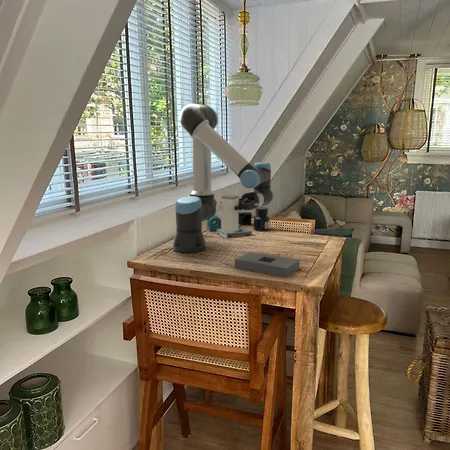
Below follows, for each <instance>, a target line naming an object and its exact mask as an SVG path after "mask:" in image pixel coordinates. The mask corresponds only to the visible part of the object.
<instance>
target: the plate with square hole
mask: <svg viewBox="0 0 450 450" xmlns="http://www.w3.org/2000/svg"><path fill="white" fill-rule="evenodd" d="M300 262H301V261H300V259H296V258H288V257H283V256H277V255H271V254H267V253H266V254H264V253H259V252H252V251H248V252H246V253H244V254H242V255H240V256H238V257H236V258H235V259H234V268H235V269H238V270H244V271H250V272H255V273H261V274H265V275H270V276H276V277H281V278H286V279H287V278H289V277H290V276H291V275H293V274H294V273H296V272H298V271H299V270H300V265H301V263H300Z"/></svg>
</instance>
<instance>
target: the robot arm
mask: <svg viewBox="0 0 450 450" xmlns="http://www.w3.org/2000/svg"><path fill="white" fill-rule="evenodd" d="M179 121H180V125H181V126H182V127H183V129H184V131H186V132H187V133H188V135H189V137H190V138H192V190H191V191H190V192H189V195H188V196H184V197H181V198H178V199H177V200H176V202H175V208H174V209H175V227H176V229H175V231H176V233H175V236H174V240H173V243H172V249H173V250H174V251H175V252H178V253H187V254H189V253H198V252H202V251H205V250H206V249H207V247H206V246H207V243H206V239H205V238H204V234H203V229H202V228H203V227H202V226H203V225H202V224H203V222H205V221H207V220H208V219H210V218H212V217H213V216H214V215H216V214H217V212H218V213H219V212H221V201H219V203H218V201H217V199H216V198H215V192H214V191H213V190H212V154H214V156H215V157H216V158H218V160H220V162H222V163H223V164H224V165H225V166H226V167H227V168H228V169H229V170H230V171H231V172H232V173H234V174H235V176H237V177H238V178H239V180H240V183H241V185H242V186H243V187H244V188H246V189H253V190H252V191H248V192H245V193H243V194H242V195H241V196H240V197H239V204H234V205H230V206H228V213H232V212H235V211H238V210H239V211H244V212H246V211H252V210H255V209H256V208H258V207H266V206H268V205H269V204H271V203H272V202H273V201H274V197H275V194H274V191H273V190H272V188H271V186H272V185H271V184H272V183H271V181H272V180H271V179H272V174H271V173H272V165H271V163H270V162H266V161H264V162H260V161H259V162H254V164H253V165H252V164H251V163H250V162H249V161H248V160H247V159H246V158H245V157H244V156H243V155H242V154H240V152H238V150H236V148H234V147H233V146H232V145H231V143H229V142H228V141H227V140H226V139H225V138H224V137H223V136H222V135H220V133H218V132H217V131H216V130H215V129H216V127H217V125H218V123H219V117H218V113H217V112H216V110H215V109H214V108H213V107H211V106H209V105H207V104H197V103H190V104H186V105H185V106H184V107H183V108H182V110H181V111H180V113H179Z"/></svg>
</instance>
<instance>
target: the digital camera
mask: <svg viewBox="0 0 450 450" xmlns="http://www.w3.org/2000/svg"><path fill="white" fill-rule="evenodd" d="M252 213H253V212H251V211H247V212H246V211H242V212H241V211H239V216H238V224H240V226H252V224H253V223H252V222H253V221H252V217H253V215H252Z"/></svg>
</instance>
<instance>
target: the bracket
mask: <svg viewBox="0 0 450 450" xmlns="http://www.w3.org/2000/svg"><path fill="white" fill-rule="evenodd" d="M238 228H241V225H240V224H238ZM206 229H207V231H209V232H218V231H217V229H221V218H220V217H218V216H217V215H216V214H215V215H214V216H213V217H212V218H210V219H208V220H206Z"/></svg>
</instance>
